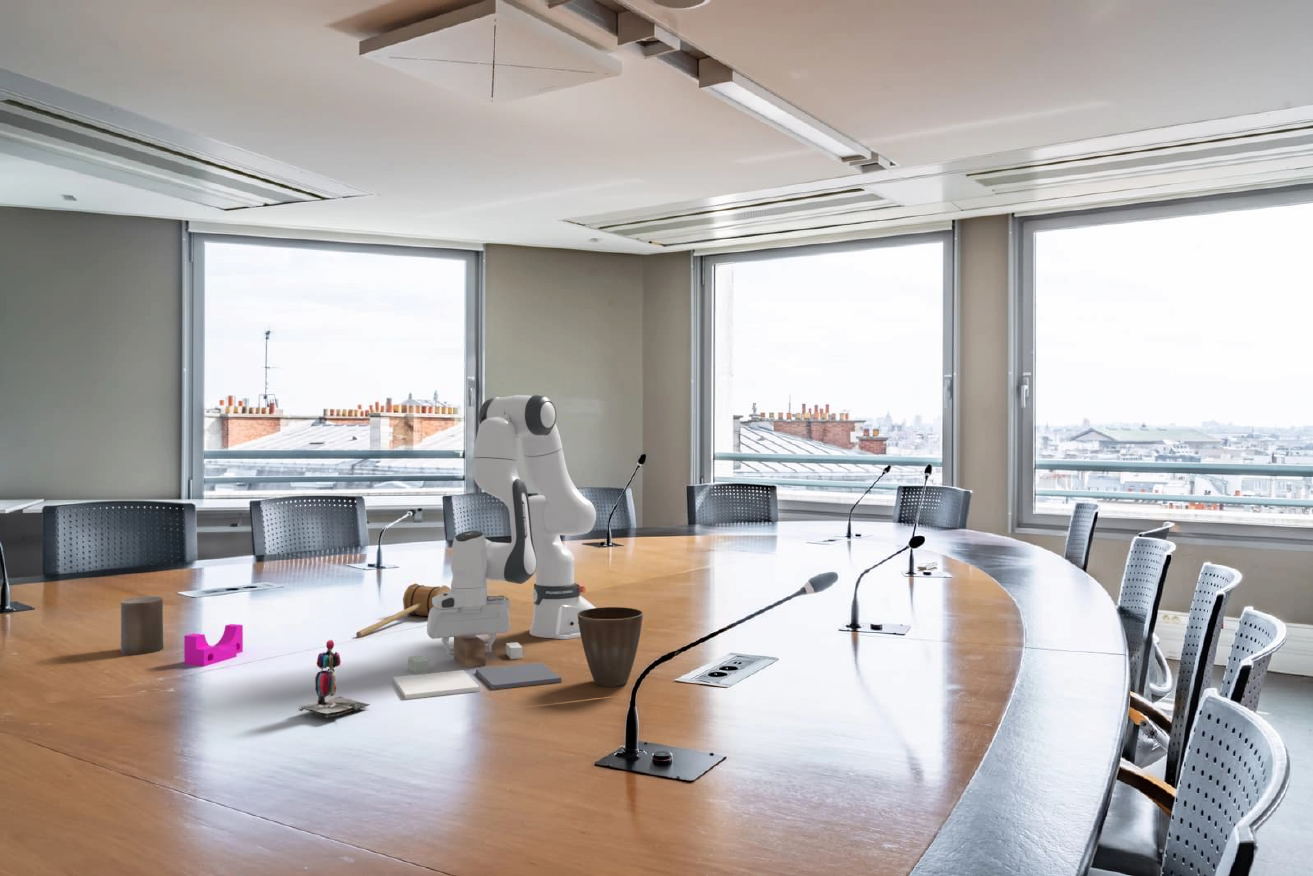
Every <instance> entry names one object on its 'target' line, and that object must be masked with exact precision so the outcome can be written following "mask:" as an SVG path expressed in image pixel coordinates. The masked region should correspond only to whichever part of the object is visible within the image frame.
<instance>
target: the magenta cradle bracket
mask: <svg viewBox="0 0 1313 876" xmlns="http://www.w3.org/2000/svg"><path fill="white" fill-rule="evenodd" d="M243 627H244V626H243V624H235V623H230V624H225V625H224V630H223V633H222V635H221V637H220V639H219V640H218V642H217V643H216V644H214V645H210V644H209V643H208V641H207V639H206V635H205V633H204V634H203V633H195V632H194V633H188V634H185V635H184V636H183V637H184V639H183V640H184V641H183V643H184V646H183V648H184V651H183V653H184V656H183V658H184V665H188V666H195V667H197V666H198V667H207V666H210V665H213V664H217V663H221V662H225V661H227V660H230V659H234V658H237V655H238V654H240V653H243V651H244V649H243V648H244V646H243V644H244V643H243V642H244V635H243V634H244V633H243V631H244V629H243Z"/></svg>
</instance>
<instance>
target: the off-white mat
mask: <svg viewBox="0 0 1313 876" xmlns="http://www.w3.org/2000/svg"><path fill="white" fill-rule="evenodd" d="M393 683H394V684H395V686H396V688H398V690H399V692H400V693H401V695H402V696H403V698H404V699H405V700H411V699H422V698H429V697H439V696H447V695H448V696H449V695H457V694H466V693H474V692H475V693H477V692H480V686H479V685H478V684H477V682H476V681H474V679H472V677H470V675H469V674H468V673H467V672H466V671H465V670H463V669H461V670H451V671H450V670H449V671H442V672H431V673H429V672H428V673H421V674H412V675H401V676H394V677H393Z"/></svg>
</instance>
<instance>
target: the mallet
mask: <svg viewBox="0 0 1313 876" xmlns="http://www.w3.org/2000/svg"><path fill="white" fill-rule="evenodd" d="M450 590H451V587H448V586H447V585H445V584H444V585H441V586H430V585H429V586H428V585H424V584H421V585H420V584H418V583H413V584H410V585H409V586H407V588H406V590H405V591H404V593H403V594H404V595H403V598H402V602H403V604H402V605H403V610H401V611H399V612H397V613H395V614H393V615H391V616H389V617H387V618H385V619H383V620H381V621H378V622H376V623H373V624H372V625H369V626H367V627H365V628H362V629H360V630H359V631H357V632H356V634H355V636H356V637H357V638H361V637H363V636H366V635H368V634H371V633H372V632H374V631H377V630H379V629H381V628H382V627H384V626H387V625H388V624H391V623H392V622H394V621H396V620H398V619H400V618H402V617H404V616H407V615H408V616H409V617H411V616H417V617H419V616H421V617H423V616H424V617H428V615H429V612H430V610H431V608H432V607H434V606H433V604H432V598H433V597H434V596H437V595H439V594H442V593H445V592H447V591H450Z"/></svg>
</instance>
